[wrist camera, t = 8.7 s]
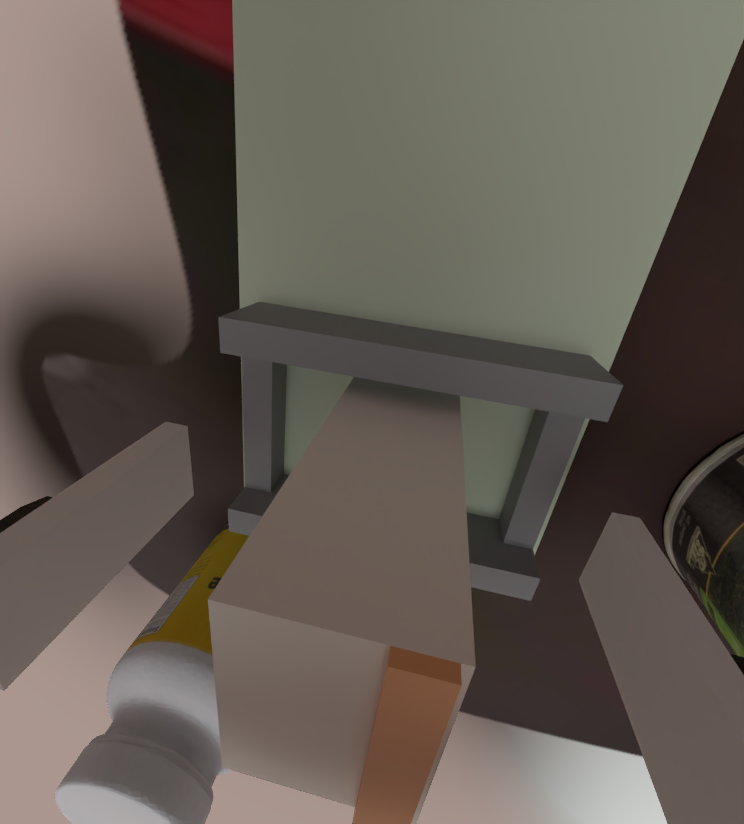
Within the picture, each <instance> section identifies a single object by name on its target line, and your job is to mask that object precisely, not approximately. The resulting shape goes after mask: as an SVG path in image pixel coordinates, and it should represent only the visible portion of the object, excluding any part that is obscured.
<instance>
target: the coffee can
mask: <svg viewBox="0 0 744 824" xmlns="http://www.w3.org/2000/svg"><path fill="white" fill-rule="evenodd" d="M664 544H665V547H666V551H667V554H668V556H669V558H670V560H671V562H672V564H673V565H674V567H675V568H676V570H677V571H678V572H679V574H680V575H681V576H682V577H683V579H684V580H685V581H686V582H687V583H688V585H689V586H690V587H691V589H692V590H693V592H694V593H695V595H696V596H697V597H698V599H699V600H700V601H701V603H702V604H703V606H704V607H705V609H706V610H707V612H708V613H709V615H710V616H711V618H712V619H713V621H714V622H715V624H716V625H717V626H718V628H719V630H720V631H721V633H722V634H723V635H724V637H725V638H726V640H727V641H728V643H729V644H730V645H731V647H732V648H733V650H734V651H735V653H736V654H737V656H741V657H744V434H742V435H741V436H739V437H737V438H735V439H733V440H732V441H730V442H728V443H726V444H724V445H722V446H721V447H719V448H718V449H717V450H716V451H715V452H714V453H713V454H712V455H710V456H709V457H707V458H706V459H705V460H703V461H702V462H701V463H699V464H698V465H697V466H696V468H695V469H694V470H693V471H691V472H690V473H689V474H688V476H687V477H686V478H685V479H684V481H683V482H682V483H681V485H680V486H679V488H678V489H677V491H676V492H675V494H674V496H673V497H672V500H671V502H670V504H669V507H668V509H667V512H666V515H665V519H664Z"/></svg>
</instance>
